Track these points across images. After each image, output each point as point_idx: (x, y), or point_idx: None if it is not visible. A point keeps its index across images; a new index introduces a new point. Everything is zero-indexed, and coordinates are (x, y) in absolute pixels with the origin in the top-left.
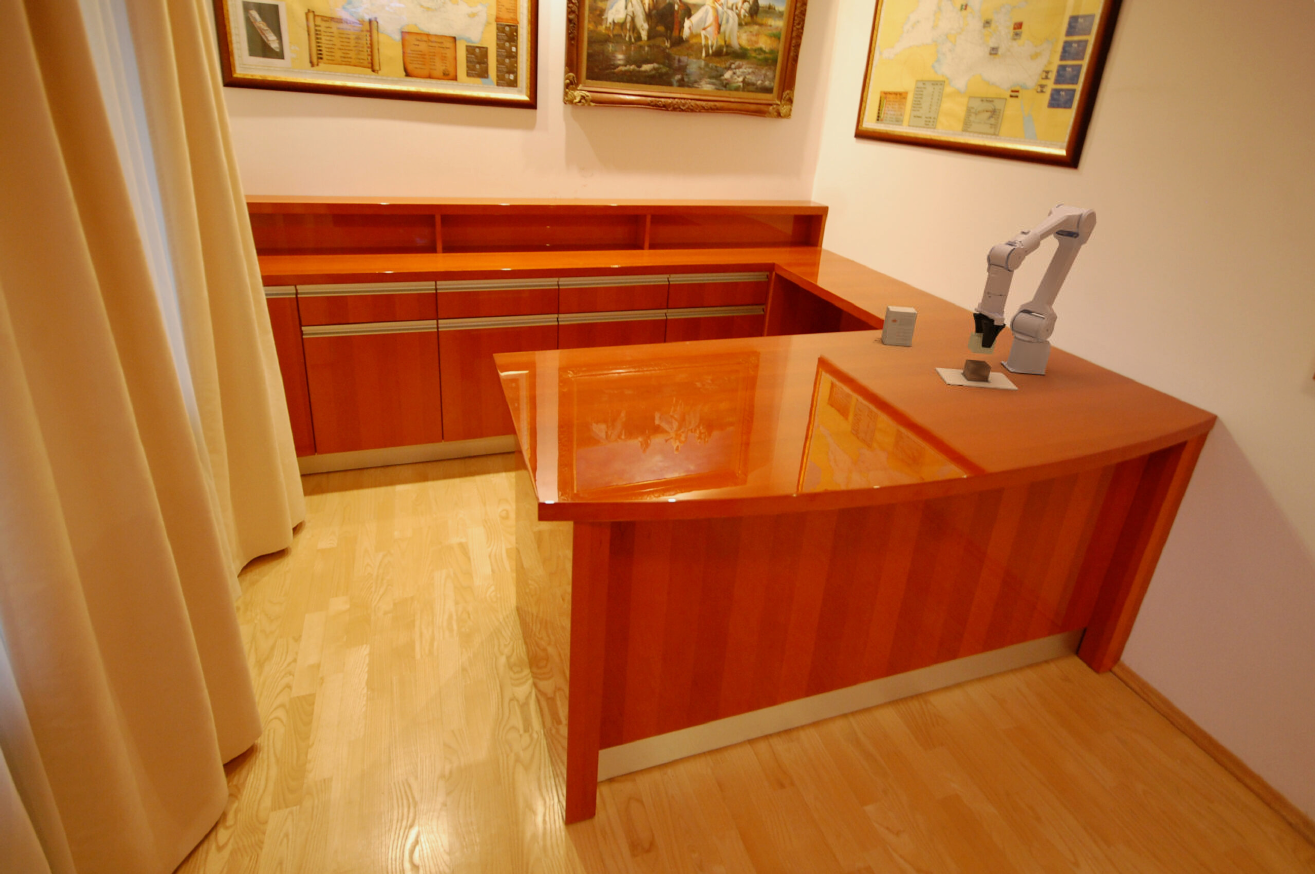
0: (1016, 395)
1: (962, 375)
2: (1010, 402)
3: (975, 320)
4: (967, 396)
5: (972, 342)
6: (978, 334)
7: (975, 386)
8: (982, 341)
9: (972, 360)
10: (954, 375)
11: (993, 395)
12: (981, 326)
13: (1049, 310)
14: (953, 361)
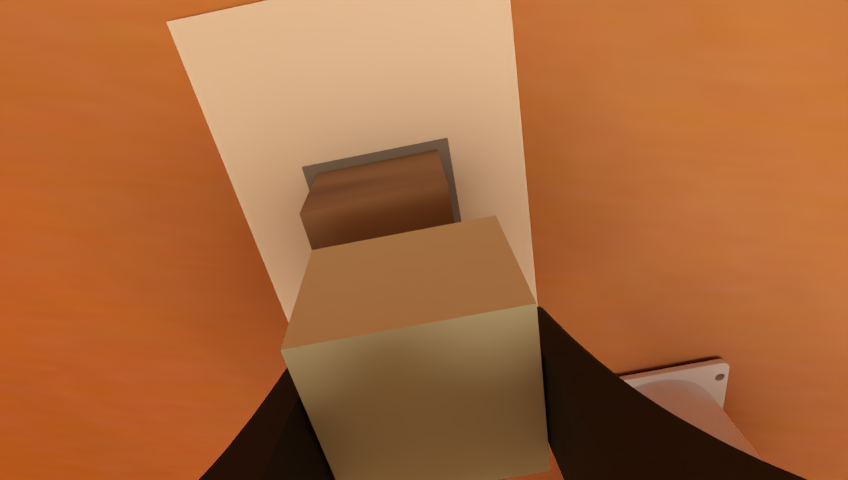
0: (236, 376)
1: (403, 145)
2: (104, 345)
3: (654, 465)
4: (21, 144)
5: (389, 277)
6: (476, 375)
7: (243, 206)
8: (284, 384)
9: None
10: (377, 91)
11: (158, 283)
12: (582, 465)
13: None
14: (718, 113)
